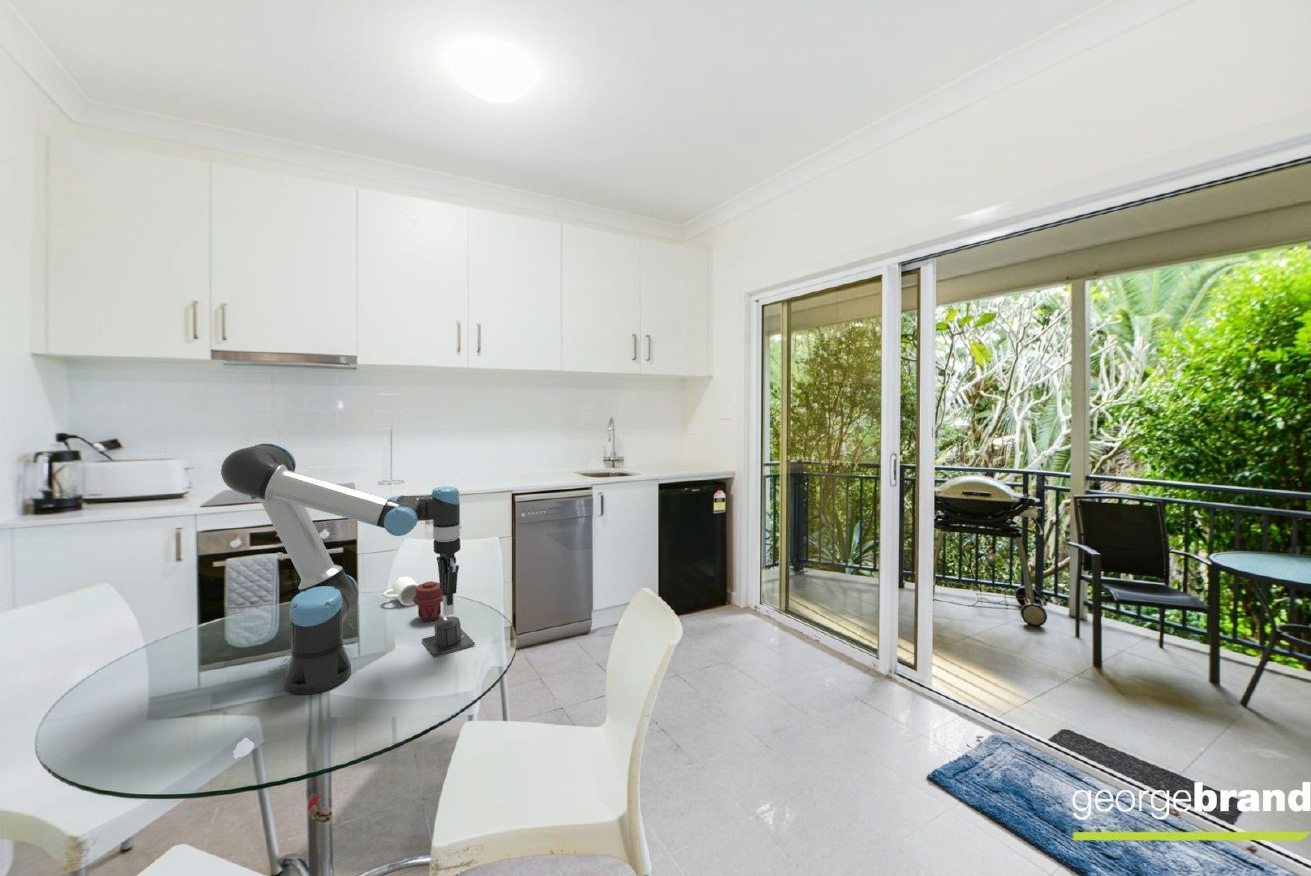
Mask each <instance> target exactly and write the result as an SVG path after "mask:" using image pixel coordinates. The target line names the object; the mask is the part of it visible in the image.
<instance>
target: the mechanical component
mask: <svg viewBox="0 0 1311 876" xmlns="http://www.w3.org/2000/svg"><path fill="white" fill-rule="evenodd" d="M413 602H414V603H415V605H417V606H418V608H417V609H418V614H417V615H418V617H419V621H420V622H421V623H424V622H428V621H437V620H439V619H440V615H441V613H442V608H441V607H442V606H441V605H442V604H441V603H443V595H442V589H440V582H438V581H437V582H435V581H425V582H423V583H421V584H418V586H417V587H416V595H415V596H414V597H413Z"/></svg>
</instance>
